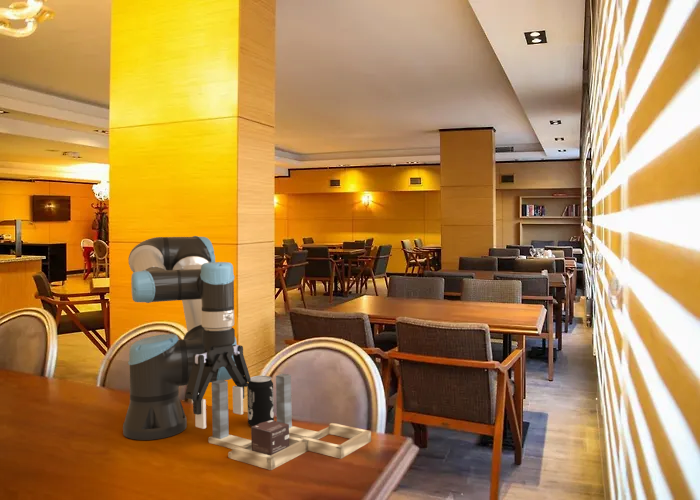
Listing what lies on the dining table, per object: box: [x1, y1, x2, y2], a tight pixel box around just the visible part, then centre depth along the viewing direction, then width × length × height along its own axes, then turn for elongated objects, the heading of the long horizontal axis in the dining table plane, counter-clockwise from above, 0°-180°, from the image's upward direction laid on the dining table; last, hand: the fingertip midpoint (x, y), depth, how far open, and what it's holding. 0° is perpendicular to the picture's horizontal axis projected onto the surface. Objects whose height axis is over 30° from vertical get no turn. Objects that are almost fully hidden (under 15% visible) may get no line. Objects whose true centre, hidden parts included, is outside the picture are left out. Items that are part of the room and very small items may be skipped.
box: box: [250, 420, 289, 456], centre depth 126 cm, size 6×6×7 cm
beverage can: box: [246, 375, 275, 428], centre depth 148 cm, size 7×7×12 cm
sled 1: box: [207, 380, 309, 471], centre depth 131 cm, size 23×12×14 cm, turn 56°
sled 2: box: [275, 373, 372, 459], centre depth 136 cm, size 23×12×14 cm, turn 56°
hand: (220, 420), depth 136 cm, fingers open, 11 cm apart
